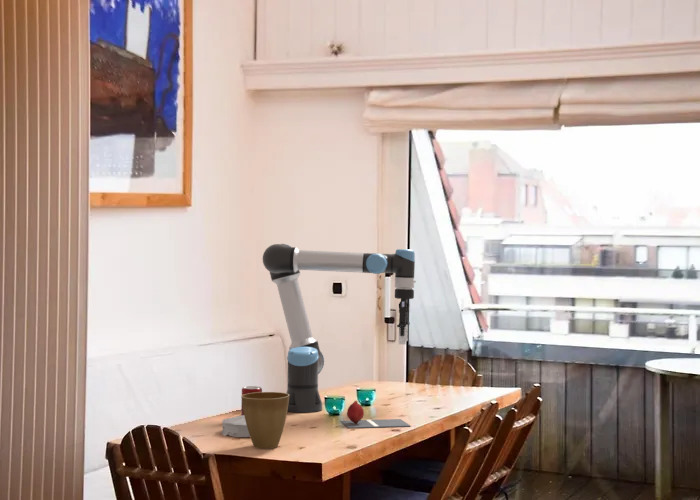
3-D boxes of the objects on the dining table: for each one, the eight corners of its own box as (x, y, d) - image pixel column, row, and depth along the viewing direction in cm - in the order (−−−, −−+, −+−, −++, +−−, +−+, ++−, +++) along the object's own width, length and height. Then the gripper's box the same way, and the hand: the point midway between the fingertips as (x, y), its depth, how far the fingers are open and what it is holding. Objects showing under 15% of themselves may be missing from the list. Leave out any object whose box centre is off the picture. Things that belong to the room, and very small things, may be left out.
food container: (213, 430, 340) (213, 410, 340) (270, 426, 346) (270, 406, 346) (227, 442, 321) (226, 420, 321) (286, 437, 328) (286, 416, 328)
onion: (351, 425, 346) (350, 402, 347) (344, 422, 352) (344, 400, 352) (366, 424, 349) (366, 400, 349) (359, 421, 354) (359, 399, 354)
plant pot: (268, 440, 320) (269, 390, 320) (298, 447, 309) (299, 395, 309) (231, 446, 310) (231, 394, 310) (260, 453, 299) (261, 399, 299)
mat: (348, 428, 343) (348, 427, 343) (340, 421, 356) (340, 420, 356) (410, 426, 347) (410, 425, 347) (400, 420, 361) (400, 418, 361)
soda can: (237, 422, 354) (238, 388, 354) (246, 419, 360) (247, 385, 361) (256, 423, 351) (256, 389, 351) (265, 420, 358) (265, 386, 358)
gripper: (412, 290, 380) (411, 345, 380) (415, 287, 404) (414, 340, 404) (392, 289, 380) (391, 345, 380) (396, 287, 405) (395, 339, 405)
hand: (403, 342), depth 392 cm, fingers open, 13 cm apart
